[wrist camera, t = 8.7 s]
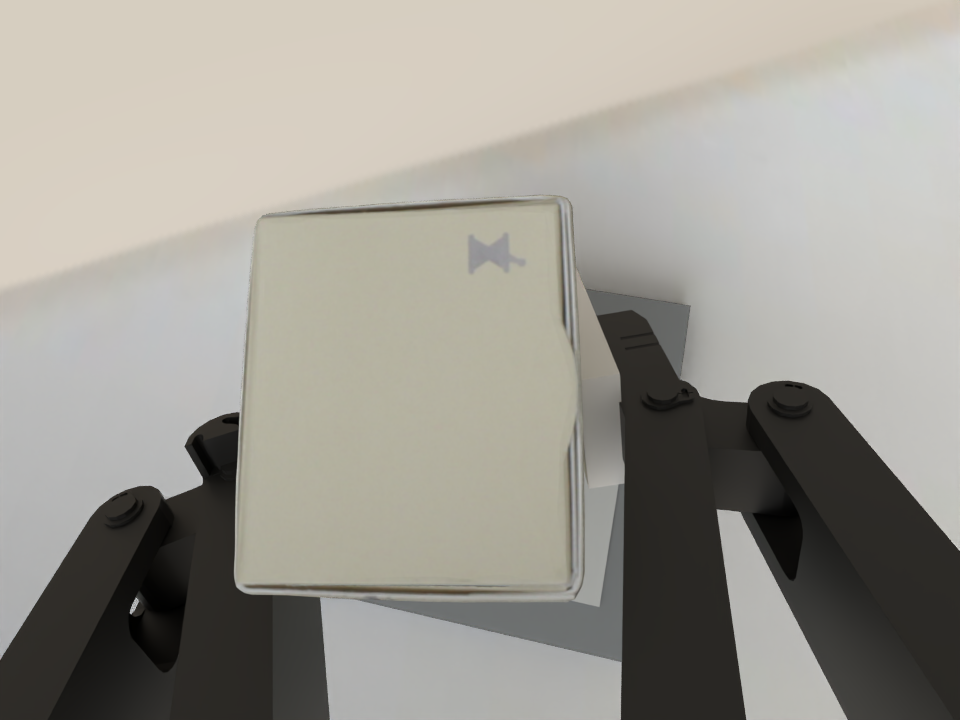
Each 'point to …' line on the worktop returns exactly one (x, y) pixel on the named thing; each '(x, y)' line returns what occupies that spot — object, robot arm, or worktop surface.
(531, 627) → the pad
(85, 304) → the worktop surface
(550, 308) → the box
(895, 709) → the robot arm
